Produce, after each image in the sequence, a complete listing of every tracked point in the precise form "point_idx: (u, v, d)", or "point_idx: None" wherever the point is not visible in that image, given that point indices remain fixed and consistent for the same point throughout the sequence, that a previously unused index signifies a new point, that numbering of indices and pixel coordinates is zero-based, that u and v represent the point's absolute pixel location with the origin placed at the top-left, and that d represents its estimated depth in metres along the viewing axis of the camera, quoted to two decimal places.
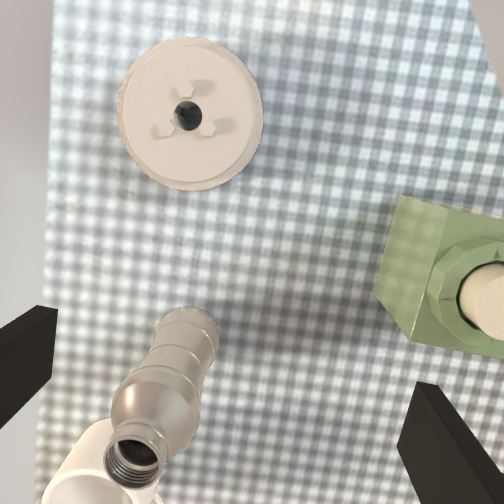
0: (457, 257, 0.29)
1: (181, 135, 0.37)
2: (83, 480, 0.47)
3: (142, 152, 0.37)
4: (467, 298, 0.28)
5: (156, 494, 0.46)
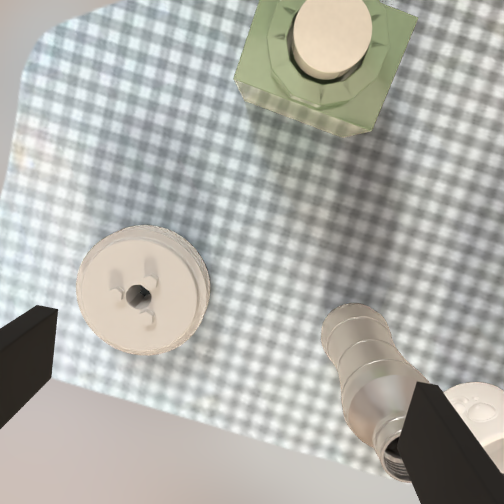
0: (278, 79, 0.27)
1: (154, 305, 0.41)
2: None
3: (165, 341, 0.42)
4: (320, 75, 0.26)
5: None
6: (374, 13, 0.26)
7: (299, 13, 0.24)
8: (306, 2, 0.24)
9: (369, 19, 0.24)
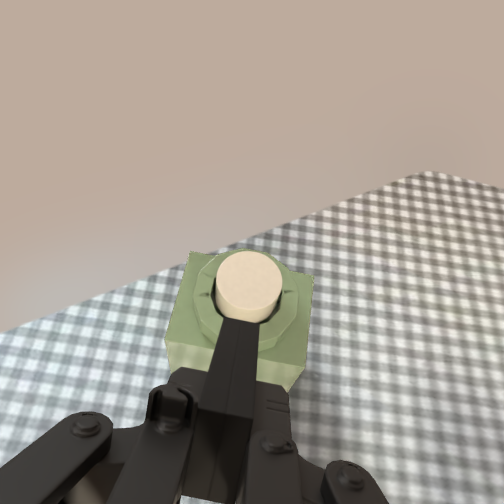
0: (208, 329, 0.29)
1: None
2: None
3: None
4: (245, 317, 0.28)
5: None
6: None
7: (219, 270, 0.29)
8: (223, 262, 0.29)
9: (277, 268, 0.29)
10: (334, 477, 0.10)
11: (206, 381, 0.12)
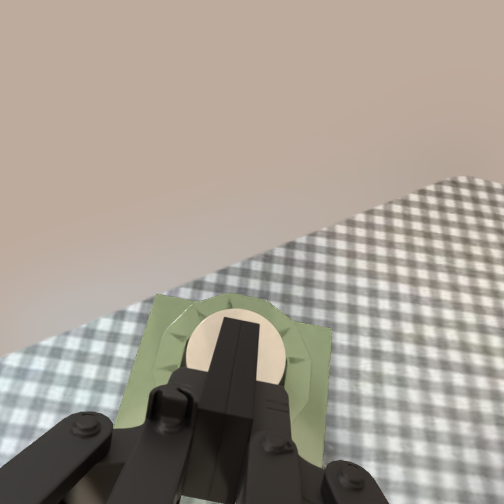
0: None
1: None
2: None
3: None
4: None
5: None
6: (283, 327, 0.21)
7: (191, 340, 0.19)
8: (198, 327, 0.19)
9: (278, 335, 0.20)
10: (334, 477, 0.10)
11: (206, 381, 0.12)
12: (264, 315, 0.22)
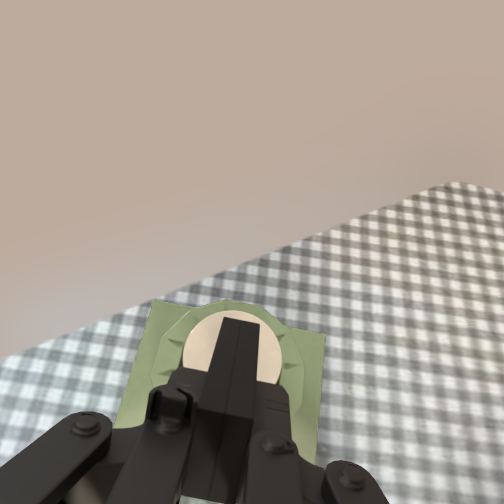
0: None
1: None
2: None
3: None
4: None
5: None
6: (277, 333, 0.22)
7: (188, 341, 0.19)
8: (195, 329, 0.20)
9: (274, 337, 0.20)
10: (334, 477, 0.10)
11: (206, 381, 0.12)
12: None
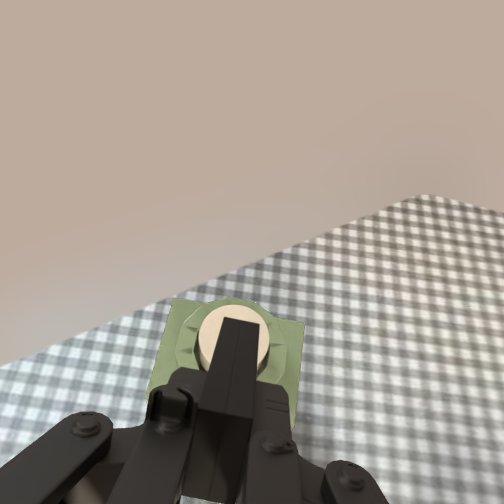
0: None
1: None
2: None
3: None
4: None
5: None
6: (267, 321, 0.30)
7: (202, 326, 0.27)
8: (206, 318, 0.27)
9: (264, 323, 0.27)
10: (334, 477, 0.10)
11: (206, 381, 0.12)
12: None
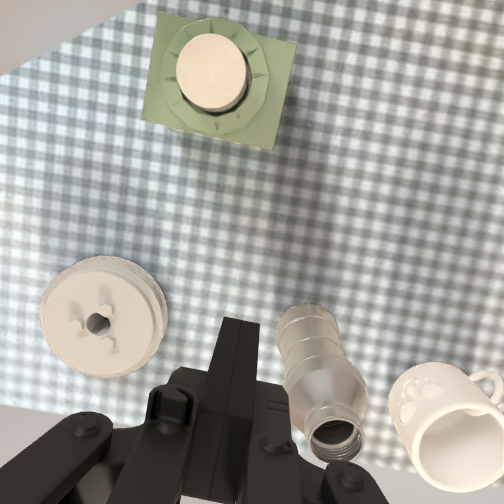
0: (176, 116, 0.30)
1: (114, 330, 0.44)
2: (450, 440, 0.47)
3: (129, 362, 0.44)
4: (209, 109, 0.29)
5: (473, 375, 0.45)
6: (251, 48, 0.29)
7: (178, 60, 0.27)
8: (183, 49, 0.27)
9: (241, 57, 0.27)
10: (334, 477, 0.10)
11: (206, 381, 0.12)
12: (237, 37, 0.29)
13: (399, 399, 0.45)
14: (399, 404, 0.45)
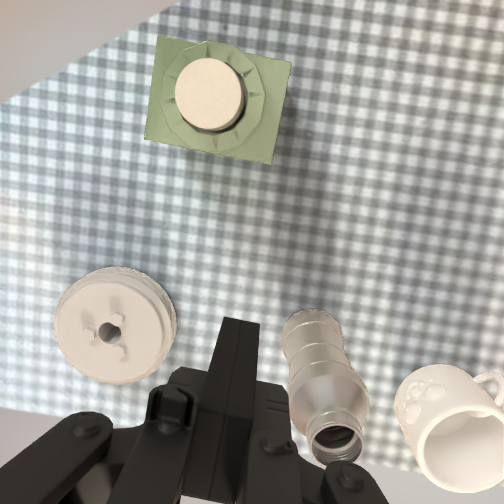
0: None
1: (125, 339, 0.45)
2: (456, 441, 0.48)
3: (140, 369, 0.46)
4: (208, 129, 0.30)
5: (477, 377, 0.46)
6: (246, 69, 0.30)
7: (177, 84, 0.28)
8: (181, 74, 0.28)
9: (236, 79, 0.28)
10: (334, 477, 0.10)
11: (206, 381, 0.12)
12: (233, 59, 0.30)
13: (405, 401, 0.46)
14: (404, 406, 0.46)
